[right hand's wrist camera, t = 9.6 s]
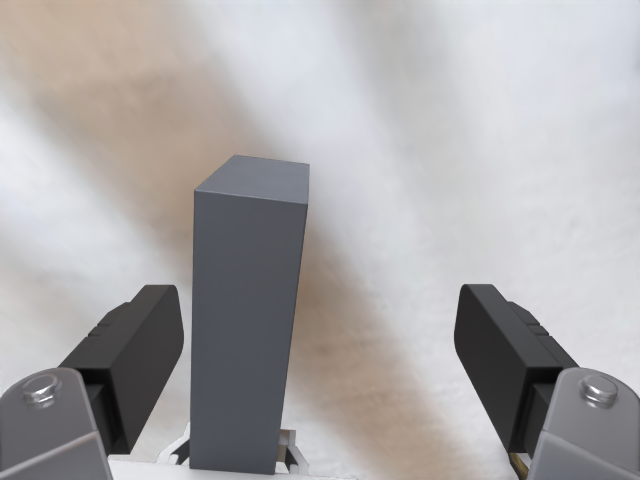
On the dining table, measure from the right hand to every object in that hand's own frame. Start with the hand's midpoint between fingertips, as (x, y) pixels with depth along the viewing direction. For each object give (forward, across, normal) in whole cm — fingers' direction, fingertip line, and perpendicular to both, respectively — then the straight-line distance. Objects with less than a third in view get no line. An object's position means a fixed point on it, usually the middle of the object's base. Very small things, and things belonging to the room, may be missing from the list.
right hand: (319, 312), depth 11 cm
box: (+21, -5, -12) cm, 24 cm away
